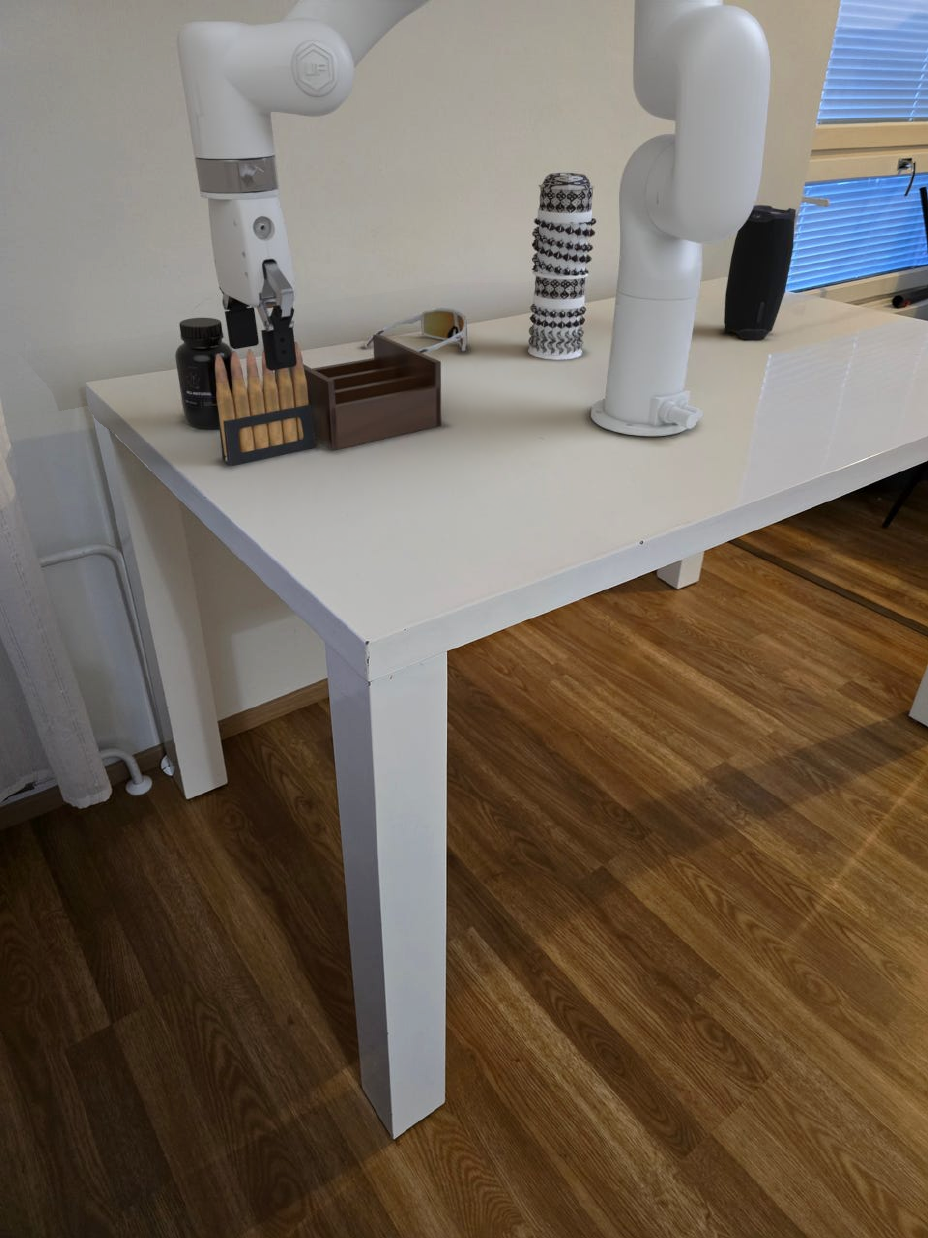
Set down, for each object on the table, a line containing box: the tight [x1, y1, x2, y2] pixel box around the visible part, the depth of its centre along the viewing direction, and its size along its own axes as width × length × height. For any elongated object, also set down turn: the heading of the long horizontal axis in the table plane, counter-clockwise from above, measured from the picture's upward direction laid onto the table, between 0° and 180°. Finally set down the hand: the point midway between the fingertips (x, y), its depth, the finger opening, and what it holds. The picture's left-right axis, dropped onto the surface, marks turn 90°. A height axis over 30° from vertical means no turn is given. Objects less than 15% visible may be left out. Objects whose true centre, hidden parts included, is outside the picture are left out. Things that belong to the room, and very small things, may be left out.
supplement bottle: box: [174, 317, 234, 430], centre depth 102 cm, size 7×7×12 cm
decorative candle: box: [527, 172, 597, 361], centre depth 127 cm, size 9×9×25 cm
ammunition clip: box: [215, 341, 317, 467], centre depth 93 cm, size 11×2×12 cm, turn 125°
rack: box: [273, 333, 442, 451], centre depth 104 cm, size 15×15×8 cm
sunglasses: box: [364, 307, 468, 354], centre depth 133 cm, size 14×15×5 cm
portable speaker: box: [723, 204, 797, 341], centre depth 139 cm, size 9×9×20 cm
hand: (262, 356), depth 91 cm, fingers open, 9 cm apart
